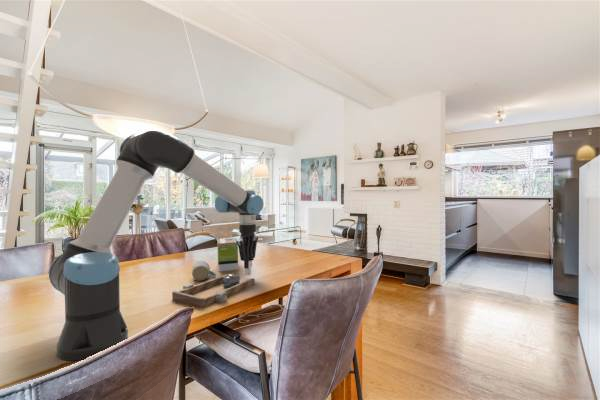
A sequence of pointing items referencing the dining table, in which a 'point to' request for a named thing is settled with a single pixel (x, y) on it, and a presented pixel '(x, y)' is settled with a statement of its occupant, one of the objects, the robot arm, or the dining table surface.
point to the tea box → (227, 254)
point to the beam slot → (220, 297)
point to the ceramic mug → (202, 271)
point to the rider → (231, 280)
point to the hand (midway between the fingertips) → (248, 274)
